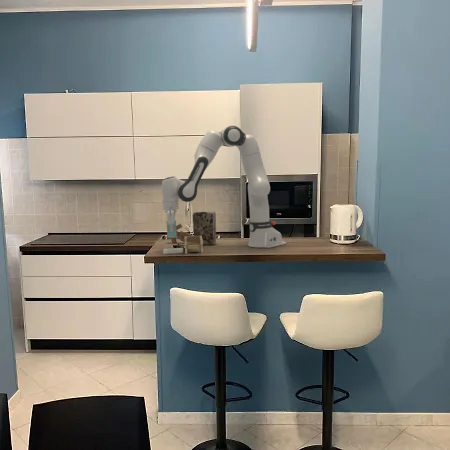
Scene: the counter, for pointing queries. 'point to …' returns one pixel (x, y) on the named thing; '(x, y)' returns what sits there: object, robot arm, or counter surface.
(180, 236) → the figurine
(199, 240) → the channel
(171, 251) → the mat
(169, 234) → the block
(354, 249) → the counter surface
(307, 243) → the counter surface
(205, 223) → the stone block
